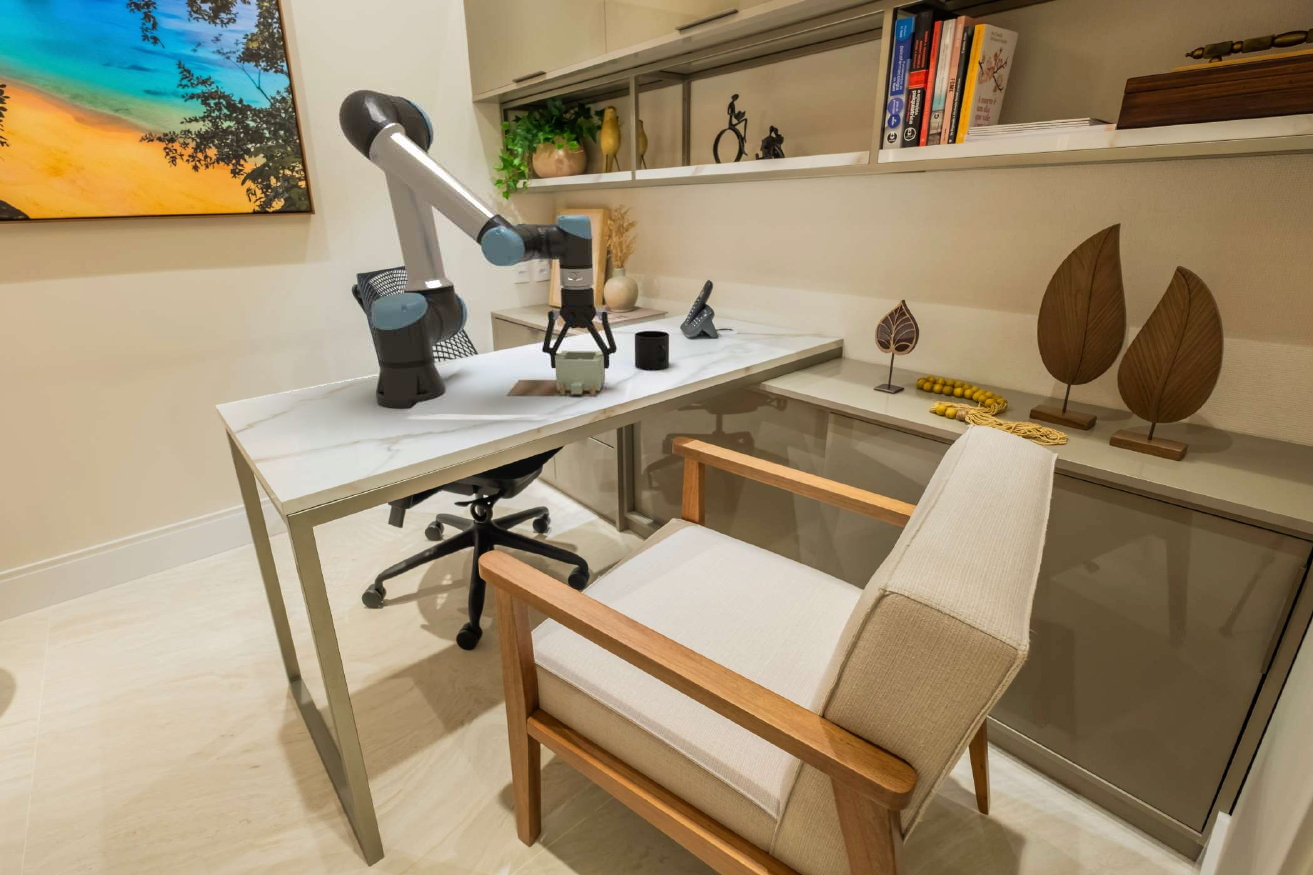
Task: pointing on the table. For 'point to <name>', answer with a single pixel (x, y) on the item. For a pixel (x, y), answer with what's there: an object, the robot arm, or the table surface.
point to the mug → (651, 350)
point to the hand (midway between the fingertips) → (581, 381)
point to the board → (547, 389)
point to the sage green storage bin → (578, 370)
